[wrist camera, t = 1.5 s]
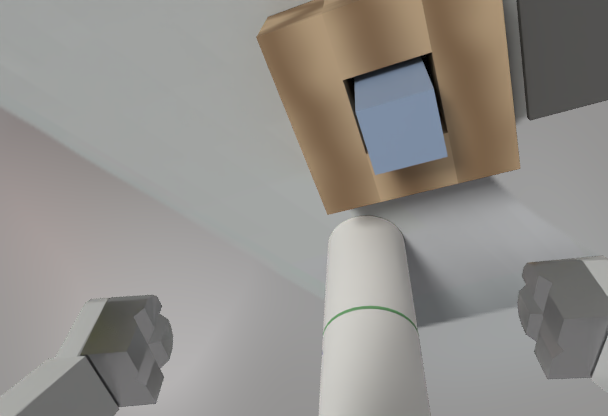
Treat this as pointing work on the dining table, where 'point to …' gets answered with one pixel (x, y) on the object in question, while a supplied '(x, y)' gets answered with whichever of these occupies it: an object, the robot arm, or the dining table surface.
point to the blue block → (399, 116)
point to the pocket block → (381, 53)
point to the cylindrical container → (370, 325)
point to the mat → (563, 54)
